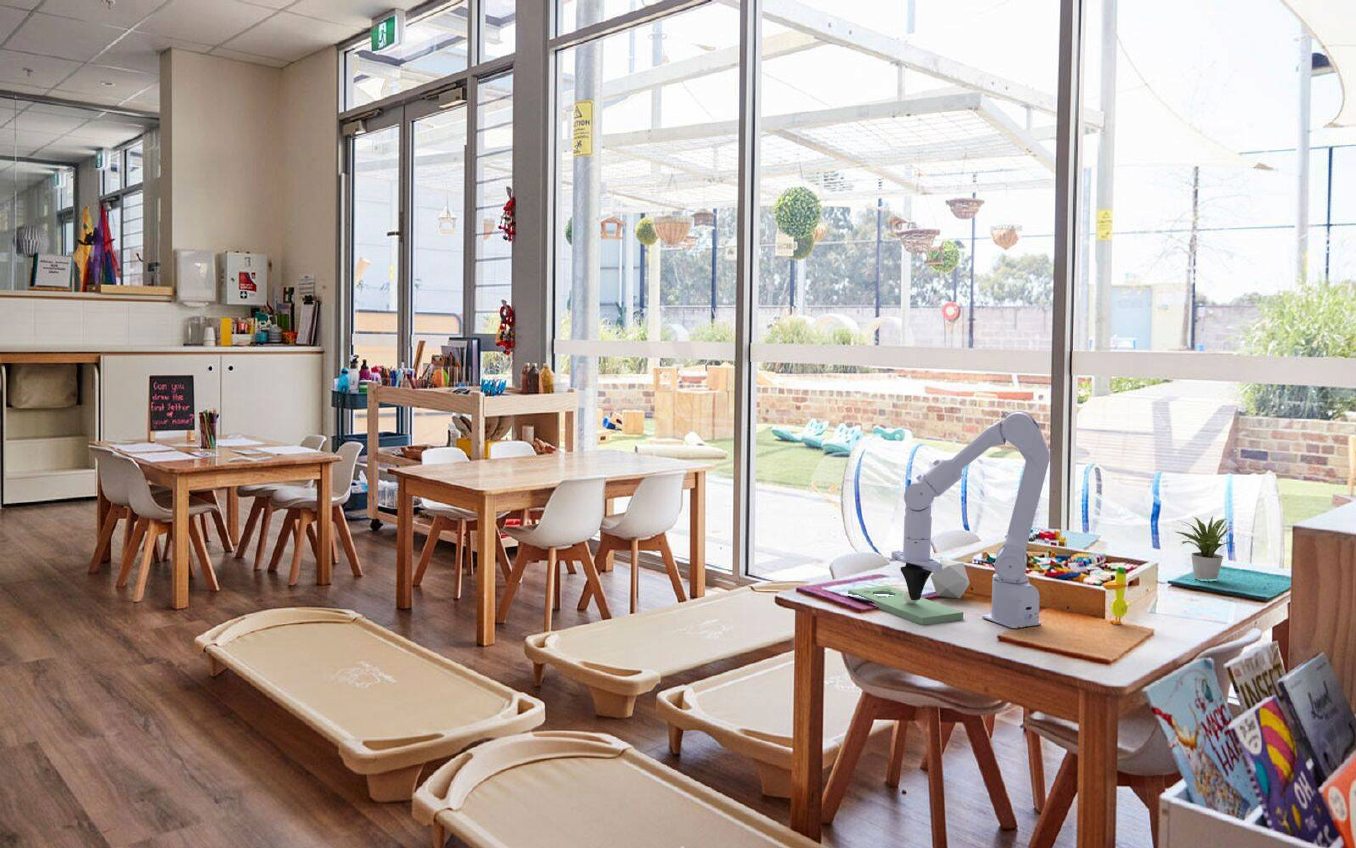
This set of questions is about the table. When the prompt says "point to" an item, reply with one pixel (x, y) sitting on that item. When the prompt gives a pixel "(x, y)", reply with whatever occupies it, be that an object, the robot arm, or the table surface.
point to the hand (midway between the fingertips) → (914, 599)
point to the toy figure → (1118, 594)
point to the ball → (908, 598)
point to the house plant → (1206, 549)
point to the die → (950, 580)
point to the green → (908, 606)
